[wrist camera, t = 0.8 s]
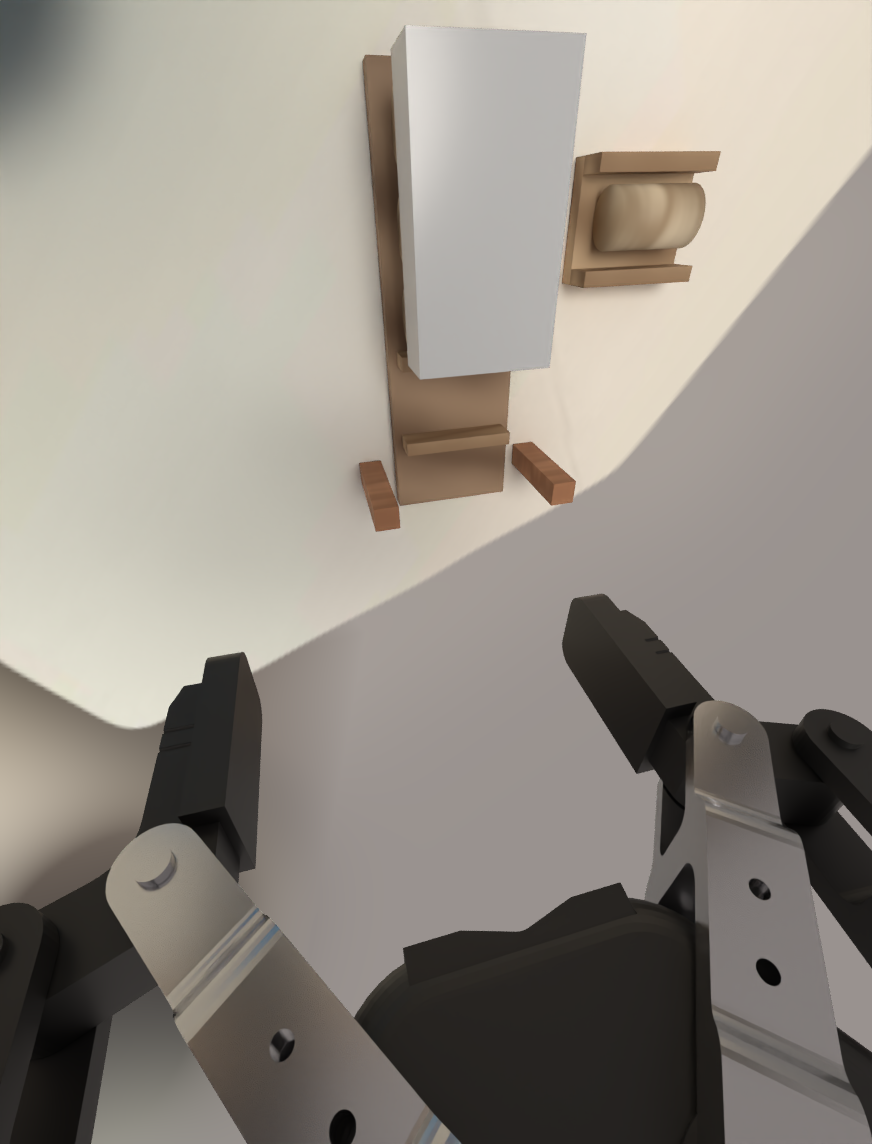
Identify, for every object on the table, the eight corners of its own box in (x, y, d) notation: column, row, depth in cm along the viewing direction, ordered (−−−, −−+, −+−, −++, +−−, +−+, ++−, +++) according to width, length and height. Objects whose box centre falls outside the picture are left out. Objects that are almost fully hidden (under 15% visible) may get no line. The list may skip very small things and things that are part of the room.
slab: (390, 48, 19) (405, 25, 17) (552, 54, 21) (586, 33, 18) (408, 365, 26) (420, 379, 24) (527, 355, 28) (549, 367, 25)
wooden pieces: (308, 59, 22) (315, 5, 17) (705, 71, 26) (817, 30, 20) (364, 504, 36) (378, 555, 30) (618, 469, 40) (672, 508, 34)
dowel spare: (595, 191, 27) (625, 177, 25) (673, 189, 28) (710, 176, 26) (590, 254, 29) (618, 248, 26) (664, 251, 30) (699, 244, 27)
